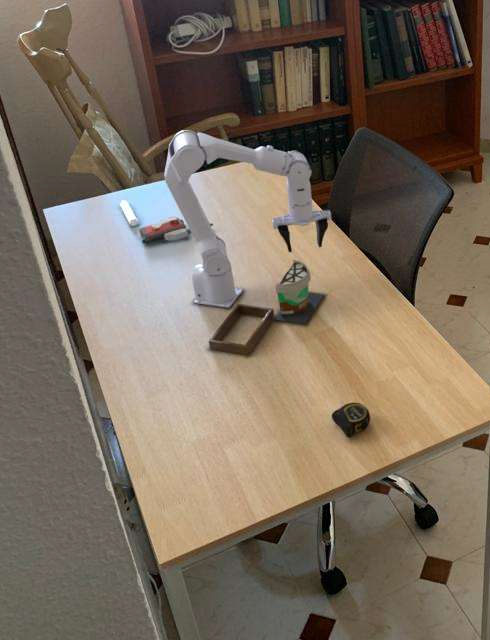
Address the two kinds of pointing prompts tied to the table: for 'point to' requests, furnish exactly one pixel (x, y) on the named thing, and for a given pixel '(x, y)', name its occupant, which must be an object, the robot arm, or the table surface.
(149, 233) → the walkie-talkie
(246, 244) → the table surface
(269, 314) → the walnut tray
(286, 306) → the food container
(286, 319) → the rubber mat
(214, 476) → the table surface
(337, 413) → the tape measure
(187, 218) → the robot arm
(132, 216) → the marker
